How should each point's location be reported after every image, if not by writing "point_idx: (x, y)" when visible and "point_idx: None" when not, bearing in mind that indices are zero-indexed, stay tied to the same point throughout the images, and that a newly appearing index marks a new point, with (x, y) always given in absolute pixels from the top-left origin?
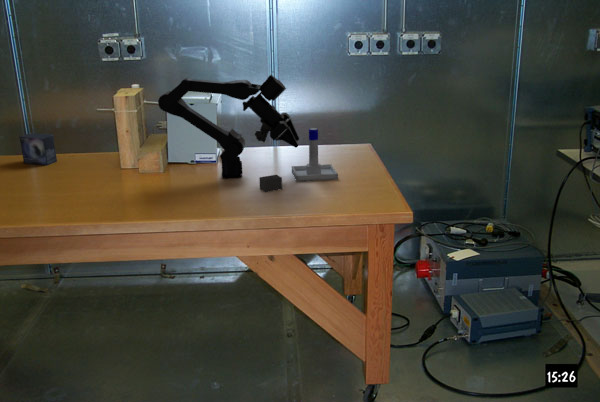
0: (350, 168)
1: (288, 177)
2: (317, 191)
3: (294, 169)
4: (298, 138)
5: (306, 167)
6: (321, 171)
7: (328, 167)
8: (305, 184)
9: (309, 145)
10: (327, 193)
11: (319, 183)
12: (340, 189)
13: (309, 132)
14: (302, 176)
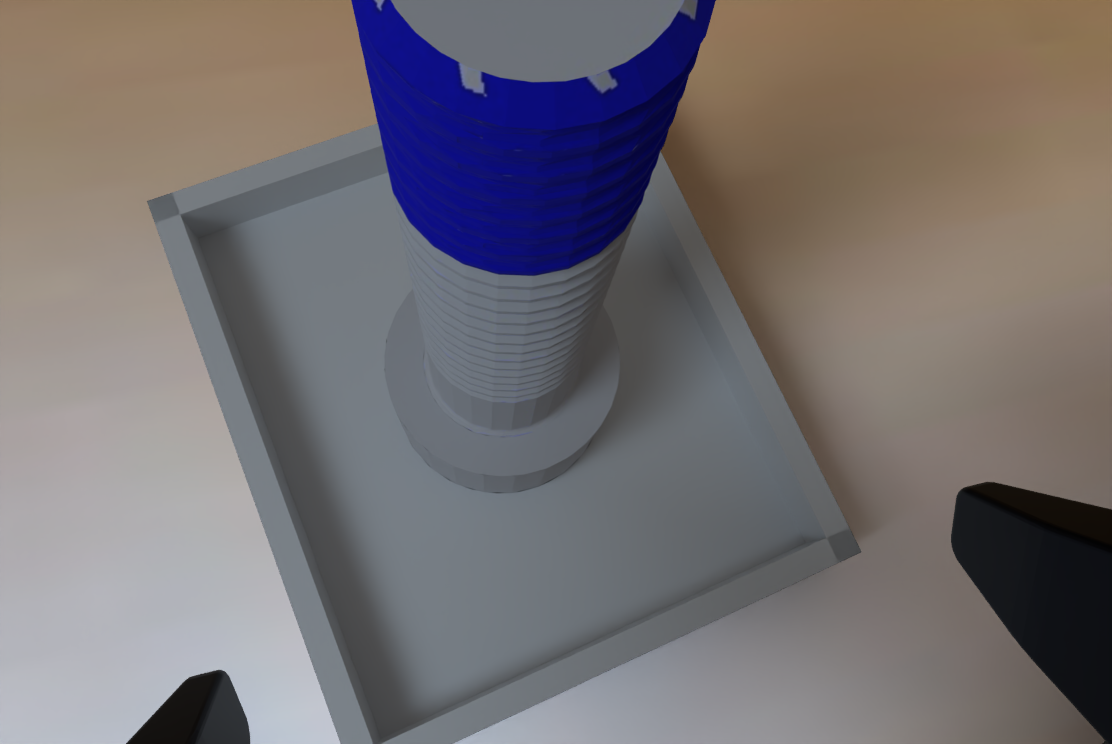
0: (80, 17)
1: (663, 731)
2: (1084, 226)
3: (538, 679)
4: (223, 693)
5: (550, 470)
6: (360, 318)
7: (199, 246)
8: (890, 416)
9: (554, 311)
10: (1105, 116)
11: (800, 262)
12: (932, 15)
13: (649, 129)
14: (816, 470)
